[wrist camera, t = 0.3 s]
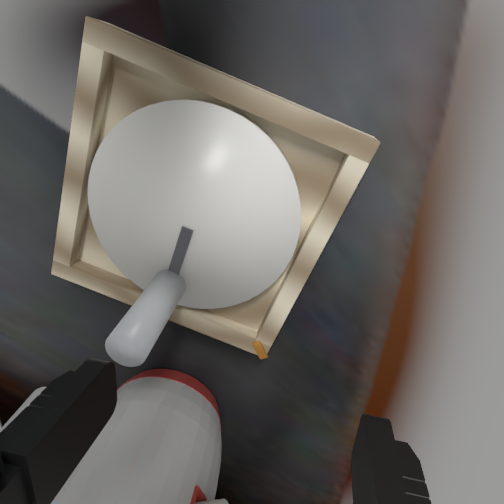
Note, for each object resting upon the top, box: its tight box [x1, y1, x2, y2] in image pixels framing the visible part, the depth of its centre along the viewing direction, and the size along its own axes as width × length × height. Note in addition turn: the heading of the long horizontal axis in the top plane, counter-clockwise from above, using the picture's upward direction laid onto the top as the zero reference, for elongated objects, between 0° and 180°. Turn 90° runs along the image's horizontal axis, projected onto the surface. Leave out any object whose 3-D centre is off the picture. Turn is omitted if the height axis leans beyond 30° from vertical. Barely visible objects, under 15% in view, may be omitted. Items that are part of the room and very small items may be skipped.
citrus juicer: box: [51, 368, 229, 504], centre depth 35 cm, size 16×17×20 cm
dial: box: [88, 99, 301, 367], centre depth 26 cm, size 18×18×10 cm
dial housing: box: [51, 16, 381, 359], centre depth 31 cm, size 22×22×3 cm
